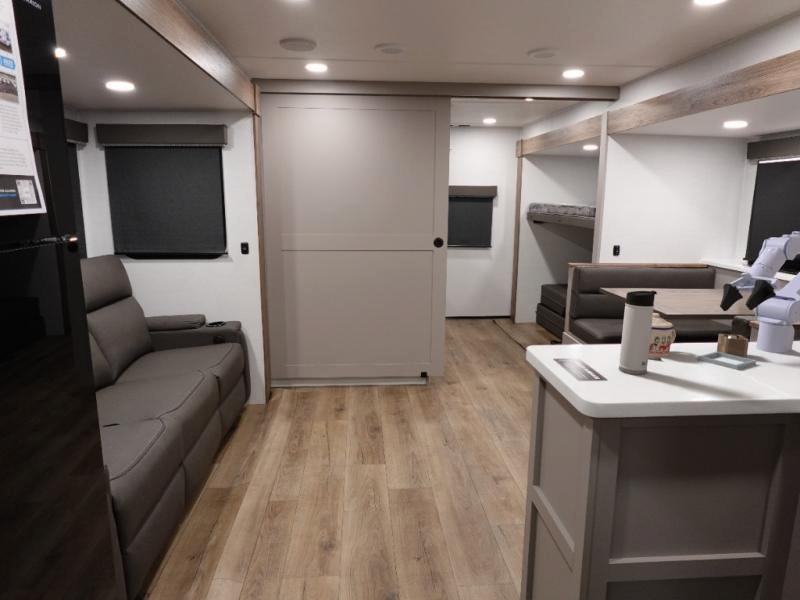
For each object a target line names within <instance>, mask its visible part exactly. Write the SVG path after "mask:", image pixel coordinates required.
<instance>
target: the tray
mask: <svg viewBox="0 0 800 600" xmlns="http://www.w3.org/2000/svg"><path fill="white" fill-rule="evenodd" d="M715 357H716V358H717V357H721V358H725V359H729V360H733V361H738V362H741V363H738V364H734V363H730V362H725V361H722V360H718V359H714V358H715ZM697 361H700V362H704V363H708V364H712V365H715V366H718V367H720V366H721V367H723V368H724V367H725V368H728V369H732V370H736V371H738V370H741V369H745V368H748V367H752V366H755V365H756V364H757V360H755V359H751V358H748V357H747V358H744V357H739V356H735V355H731V354H726V353H722V352H718V351H717V350H716V351H712V352H710V353H705V354H700V355H698V356H697Z"/></svg>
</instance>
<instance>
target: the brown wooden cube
mask: <svg viewBox="0 0 800 600" xmlns="http://www.w3.org/2000/svg"><path fill="white" fill-rule="evenodd" d="M728 335H732V336H736V337H737V338H728ZM717 338H718V339H717V345H716V352H717V351H718V352H722V353H726V354H731V355H735V356H739V357H744V358H748V350H749V343H750V342H749V341H750V340H749V339H748V338H746V337H745V336H743V335H740V334H730V333H729V334H726V333H719V334H718V337H717Z"/></svg>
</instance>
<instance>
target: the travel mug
mask: <svg viewBox="0 0 800 600" xmlns="http://www.w3.org/2000/svg"><path fill="white" fill-rule="evenodd" d="M656 295H658V293H657V291H656V290H650V291H649V290H637V291H636V290H634V291H628V292H627V293H626V296H625V297H626V298H625V303H624V304H625V306H624V313H623V322H622V323H623V324H622V333H621V335H622V336H621V341H620V342H621V344H620V353H619V365H618V370H619V371H620V372H622V373H625V374H627V375H634V376H642V375H645V374H647V371H648V363H649V359H648V355H649V346H650V337H651V328H652V319H653V313H654V308H655V297H656Z"/></svg>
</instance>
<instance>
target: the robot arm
mask: <svg viewBox="0 0 800 600" xmlns="http://www.w3.org/2000/svg"><path fill="white" fill-rule="evenodd" d="M797 255H800V231H796V230H795V231H792V232H791V234H782V236H780V237H775V236H773V237H769V238H767V239H764V241H763V243H762V247H761V249H760V250H759V253H758V257H757V259H756V260H755V261H754V262H753V264H752V265H751V266H750V268H749V269H748V271H746V272H742V273H741V275H740V276H741V277H740V278H737V279H736V280H734V281H730V282H727V283H724V285H723V286H722V287H723V294H722V299H721V302H720V304H719V307H720V308H721V310H722V311H723V312H727V311H729V310H730V309H731V307H732V306H733V305H734V304H735V303H737V302H738V301H740V300H742V299H743V298H744V296H743V295H742V293H741V292H747V293H751V294H750V295H749V297H748V298H747V300H746V302H745V306H746V308H748V310H749V311H753V312H754V315H755V317H756V318H757V321H759V324H758V325H759V327H758V333H757V340H756V346H755V347H756V348H755V349H757V350H759V351H761V352H764V353H765V352H766V353H770V354H771V353H773V354H787V353H788V352H790V351H792V350H793V345H794V344H793V343H794V338H795V328H794V326H793V325H795V324H796V323H797V322H799V320H800V271H799V272H798V273H797V274H796V275H795V276H794V277H793V278H792V279H791V280H789V282H788V283H786V285H784V286H783V288H782V289H780V288H781V286H782V285H783V283H782V282H781V281H780V279H779V278H775V276H776V275H777V274H778V272H779V271H780V269H781V267H783V265H784V264H785V262H786V261H787V260H790V261H794V259H795V258H796V256H797ZM779 289H780V290H779ZM775 290H777V291H775Z"/></svg>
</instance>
